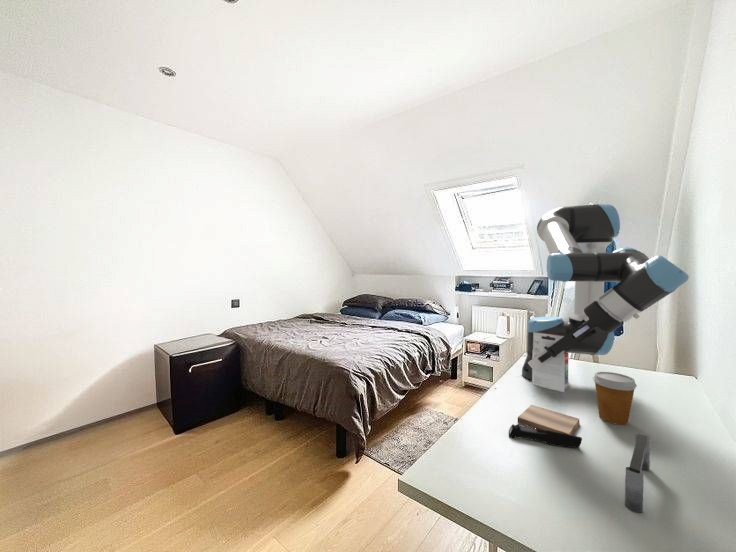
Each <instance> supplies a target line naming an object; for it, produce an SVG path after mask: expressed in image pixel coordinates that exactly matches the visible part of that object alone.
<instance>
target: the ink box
mask: <svg viewBox="0 0 736 552" xmlns="http://www.w3.org/2000/svg"><path fill="white" fill-rule="evenodd" d="M542 336H544V337H547V336H550V337H552V338H555V340H547V339H542ZM563 337H564V336H560V335H552V334H545V333H537V332H533V350H532V359H533V358H535V357H536V356H537V355H539V354H540V353H541V352H543V351H544V350H546V349H545V348H544V347H545V346H547V347H550V346H552V345H553V344H554V343H556V342H557V341H559V340H560V339H561V338H563ZM531 384H532V385H533V386H536V387H540V388H544V389H549V390H551V391H555V392H560V393H565V392H567V391H568V390H569V353H566V352H564V351H562V352H561V353H559V354H558V355H557V356H556V357H555V358H553V359H552V360H550V361H549V362H547V363H546V364H545V365H543V366H542V367H540V368H539V369H537V370H536V371H534V370H533V369H532V380H531Z"/></svg>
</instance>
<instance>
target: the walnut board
mask: <svg viewBox="0 0 736 552" xmlns="http://www.w3.org/2000/svg"><path fill="white" fill-rule="evenodd" d="M517 424H519V425H520V424H521V425H522V426H523V425H524V426H525V427H529V428H532V427H533V428H534V429H535V428H536V429H540V430H545V431H552V432H557V433H562V434H567V435H572V436H574V435H573V434H574V433H575V431H576V430H577V428H578V427H579V425H580V418H578V417H575V416H572V415H567V414H565V413H561V412H557V411H555V410H551V409H548V408H544V407H540V406H536V405H533V404H531V405H529V406H528V407H527V408H526V409H525V410H524V411H523V412H521V413H520V415H518V417H517Z"/></svg>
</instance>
